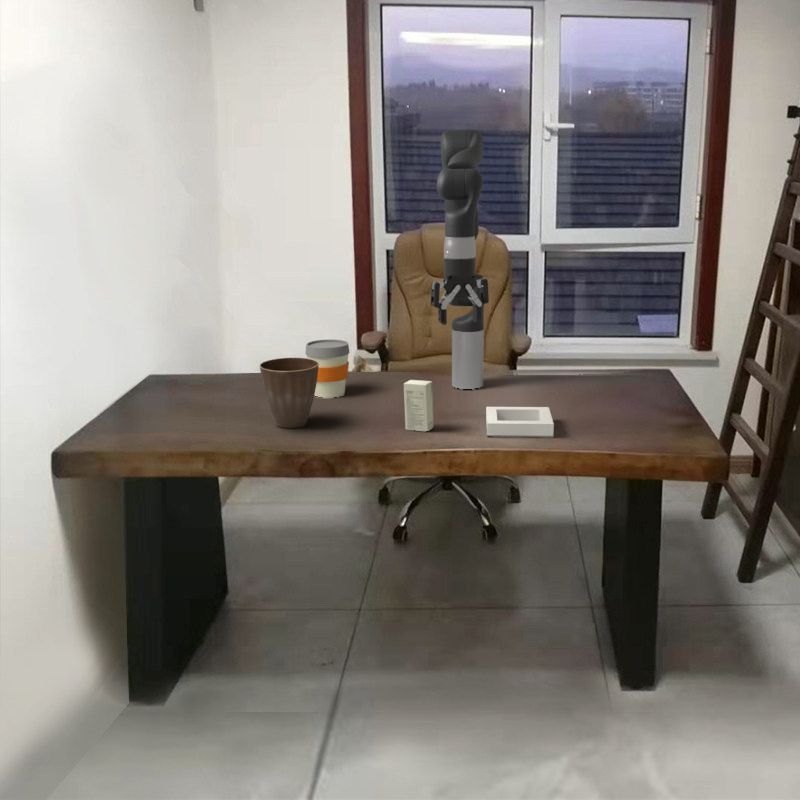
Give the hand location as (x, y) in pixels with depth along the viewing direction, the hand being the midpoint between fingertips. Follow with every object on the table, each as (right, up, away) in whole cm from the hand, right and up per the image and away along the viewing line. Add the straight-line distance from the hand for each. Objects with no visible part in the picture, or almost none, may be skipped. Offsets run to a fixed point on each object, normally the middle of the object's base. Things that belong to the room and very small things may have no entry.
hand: (459, 323), depth 218 cm
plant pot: (-42, -25, +15) cm, 51 cm away
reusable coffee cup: (-35, -17, +43) cm, 58 cm away
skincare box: (-10, -26, +9) cm, 29 cm away
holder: (+15, -26, +8) cm, 31 cm away
